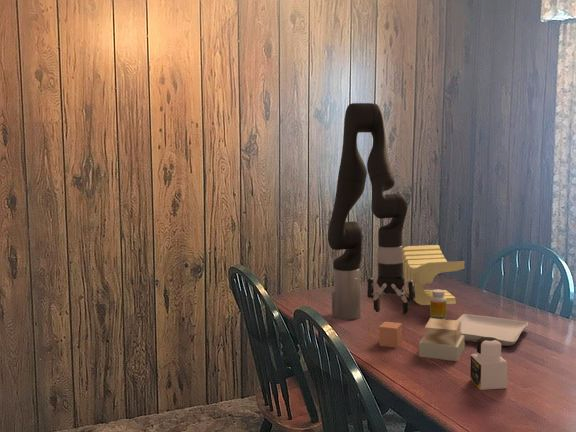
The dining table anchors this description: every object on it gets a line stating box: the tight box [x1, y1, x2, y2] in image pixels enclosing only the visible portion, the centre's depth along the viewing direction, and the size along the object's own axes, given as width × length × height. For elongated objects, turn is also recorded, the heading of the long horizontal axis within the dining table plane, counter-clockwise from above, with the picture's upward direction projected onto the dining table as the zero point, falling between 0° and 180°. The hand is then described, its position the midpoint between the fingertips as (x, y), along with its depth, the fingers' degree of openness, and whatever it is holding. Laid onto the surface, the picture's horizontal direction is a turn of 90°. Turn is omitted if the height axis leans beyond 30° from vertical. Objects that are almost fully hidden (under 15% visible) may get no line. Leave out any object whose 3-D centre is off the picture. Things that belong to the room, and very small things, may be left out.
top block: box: [423, 317, 461, 345], centre depth 193 cm, size 9×9×4 cm
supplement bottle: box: [429, 288, 448, 320], centre depth 226 cm, size 5×5×10 cm
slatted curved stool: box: [402, 244, 465, 306], centre depth 248 cm, size 30×16×18 cm, turn 4°
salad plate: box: [456, 313, 529, 347], centre depth 208 cm, size 21×21×3 cm
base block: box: [418, 335, 466, 362], centre depth 194 cm, size 11×11×4 cm
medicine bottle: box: [470, 337, 509, 391], centre depth 170 cm, size 7×7×12 cm
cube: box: [378, 321, 403, 348], centre depth 202 cm, size 6×6×6 cm
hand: (391, 312), depth 201 cm, fingers open, 8 cm apart
